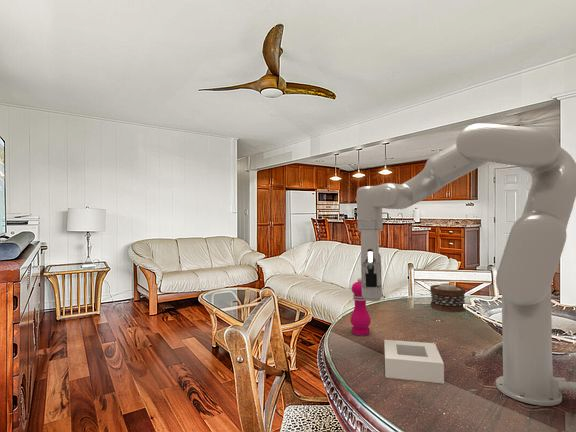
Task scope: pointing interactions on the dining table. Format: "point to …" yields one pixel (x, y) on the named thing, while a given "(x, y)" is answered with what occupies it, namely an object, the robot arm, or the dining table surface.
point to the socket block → (413, 361)
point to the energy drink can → (372, 292)
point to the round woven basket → (447, 297)
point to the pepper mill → (359, 311)
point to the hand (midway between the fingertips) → (371, 284)
